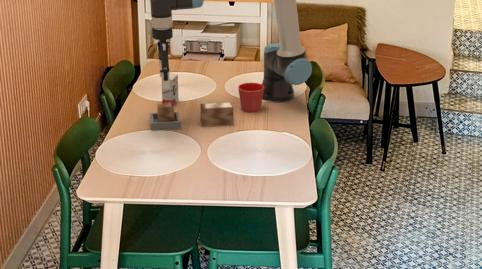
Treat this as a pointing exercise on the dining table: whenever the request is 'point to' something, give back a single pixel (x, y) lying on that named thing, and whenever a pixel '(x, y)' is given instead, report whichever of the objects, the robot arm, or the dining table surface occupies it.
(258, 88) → the flower pot
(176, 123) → the slate tray
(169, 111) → the brown block
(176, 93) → the ink box
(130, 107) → the dining table surface
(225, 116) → the brown wooden box
